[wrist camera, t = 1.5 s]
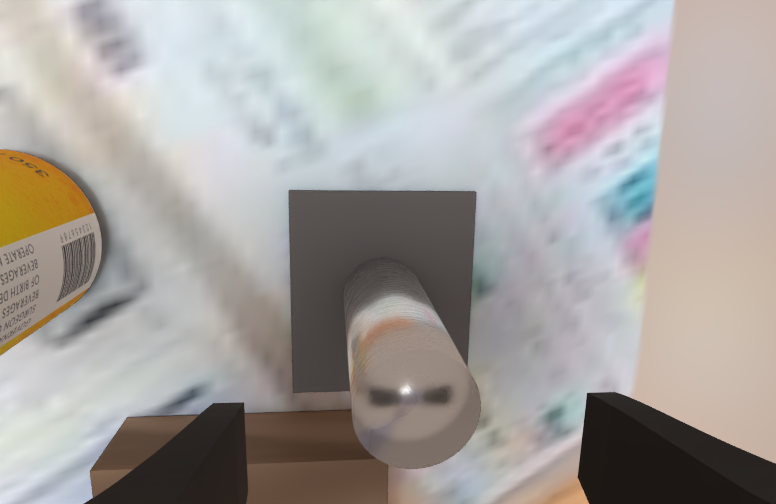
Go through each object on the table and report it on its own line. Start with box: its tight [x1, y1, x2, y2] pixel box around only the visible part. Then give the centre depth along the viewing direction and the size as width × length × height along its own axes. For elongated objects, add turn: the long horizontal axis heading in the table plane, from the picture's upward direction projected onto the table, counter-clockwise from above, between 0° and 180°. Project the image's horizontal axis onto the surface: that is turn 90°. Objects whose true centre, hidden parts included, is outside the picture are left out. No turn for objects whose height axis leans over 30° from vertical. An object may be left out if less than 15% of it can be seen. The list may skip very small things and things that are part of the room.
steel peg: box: [344, 257, 481, 469], centre depth 17 cm, size 3×3×9 cm
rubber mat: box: [289, 190, 476, 393], centre depth 22 cm, size 8×7×1 cm
